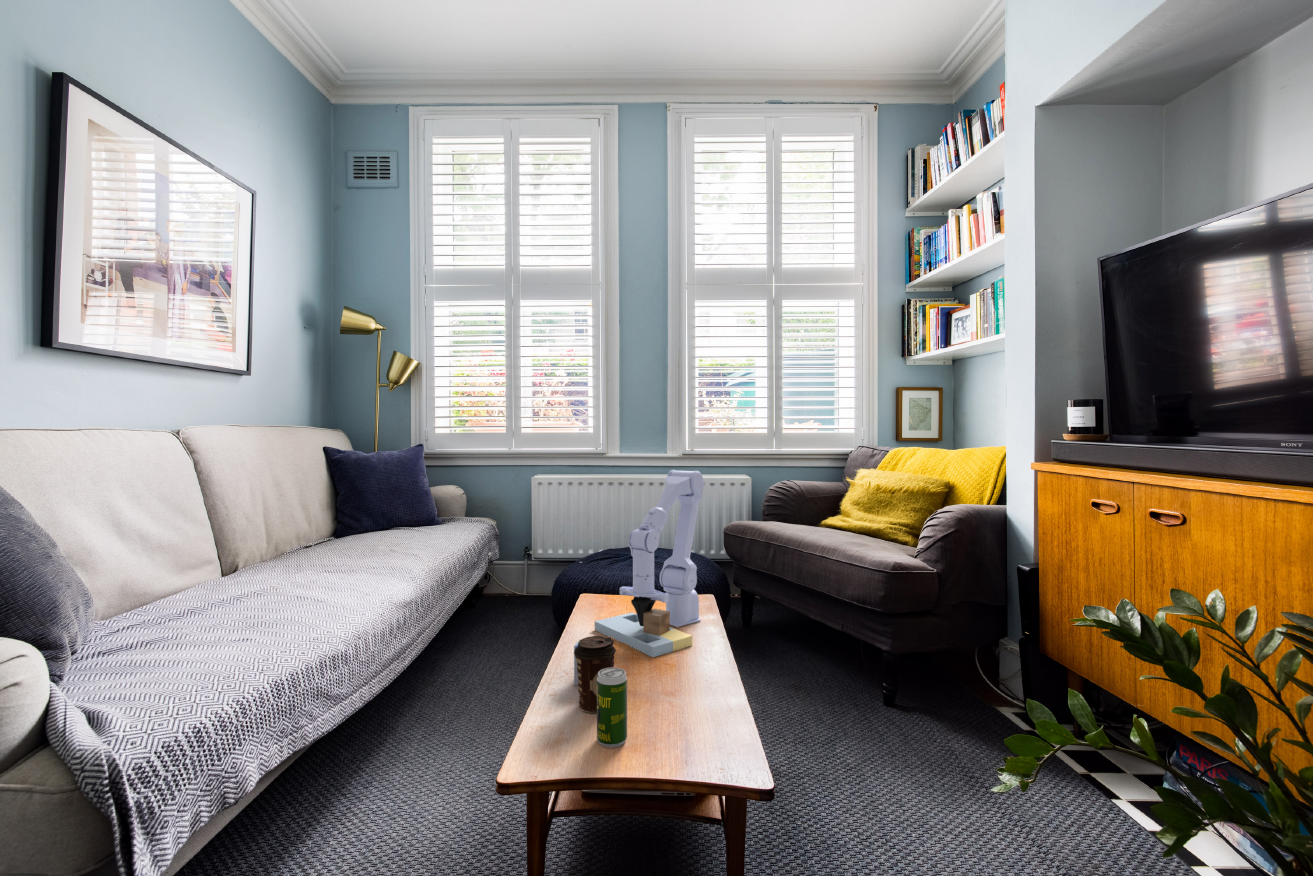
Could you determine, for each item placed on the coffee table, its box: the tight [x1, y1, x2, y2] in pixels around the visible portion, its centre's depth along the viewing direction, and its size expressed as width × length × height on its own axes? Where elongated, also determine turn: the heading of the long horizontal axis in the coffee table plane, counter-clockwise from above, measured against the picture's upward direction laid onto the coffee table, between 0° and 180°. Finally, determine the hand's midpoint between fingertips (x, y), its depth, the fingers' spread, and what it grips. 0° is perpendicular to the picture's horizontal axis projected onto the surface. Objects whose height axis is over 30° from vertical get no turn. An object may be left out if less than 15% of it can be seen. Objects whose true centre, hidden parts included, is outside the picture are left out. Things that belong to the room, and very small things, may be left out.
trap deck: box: [594, 612, 693, 658], centre depth 156 cm, size 13×26×2 cm, turn 39°
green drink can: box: [596, 667, 628, 749], centre depth 103 cm, size 5×5×12 cm
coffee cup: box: [573, 635, 617, 714], centre depth 116 cm, size 9×8×13 cm
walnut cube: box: [643, 608, 670, 636], centre depth 154 cm, size 5×5×5 cm
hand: (643, 625), depth 156 cm, fingers closed
